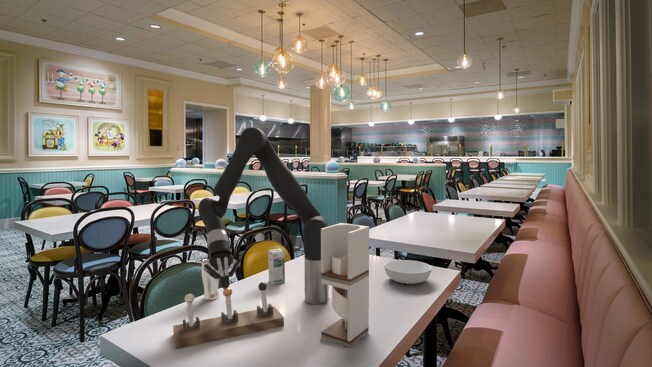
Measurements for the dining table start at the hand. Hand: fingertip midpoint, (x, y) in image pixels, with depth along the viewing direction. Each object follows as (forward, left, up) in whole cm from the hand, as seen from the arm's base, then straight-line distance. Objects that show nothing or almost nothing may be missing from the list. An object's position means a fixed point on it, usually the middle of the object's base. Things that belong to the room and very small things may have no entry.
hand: (226, 287), depth 129 cm
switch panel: (-3, +4, -13) cm, 14 cm away
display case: (-41, +5, -13) cm, 43 cm away
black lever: (-13, -1, -9) cm, 16 cm away
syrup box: (-9, -43, -13) cm, 45 cm away
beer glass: (+14, -22, -13) cm, 29 cm away
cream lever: (+8, +11, -9) cm, 16 cm away
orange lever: (-3, +5, -9) cm, 11 cm away
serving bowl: (-68, -48, -13) cm, 84 cm away
